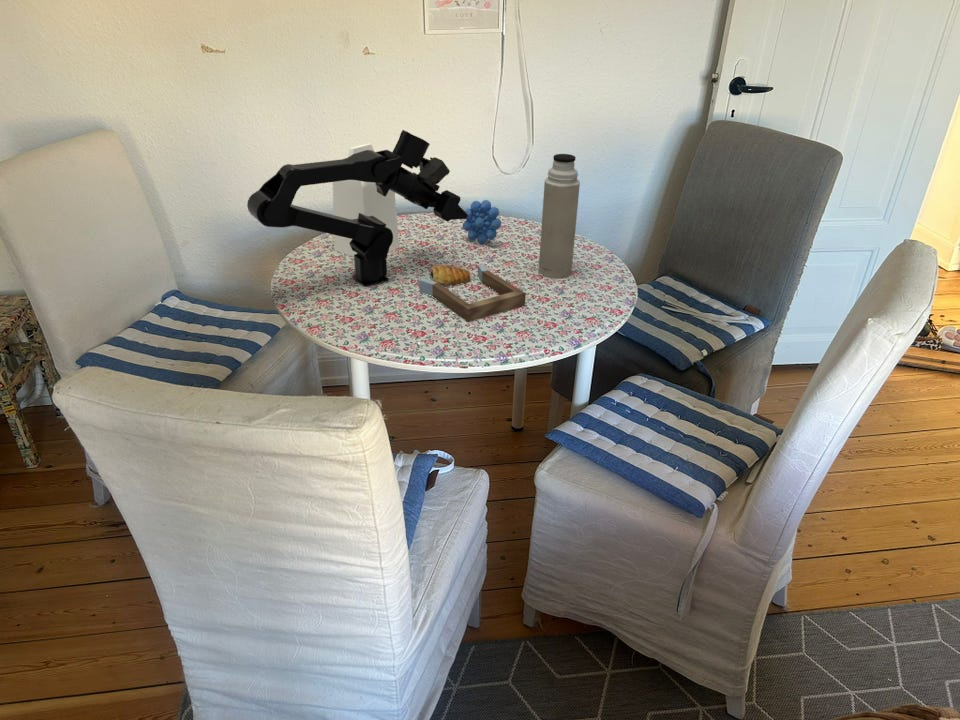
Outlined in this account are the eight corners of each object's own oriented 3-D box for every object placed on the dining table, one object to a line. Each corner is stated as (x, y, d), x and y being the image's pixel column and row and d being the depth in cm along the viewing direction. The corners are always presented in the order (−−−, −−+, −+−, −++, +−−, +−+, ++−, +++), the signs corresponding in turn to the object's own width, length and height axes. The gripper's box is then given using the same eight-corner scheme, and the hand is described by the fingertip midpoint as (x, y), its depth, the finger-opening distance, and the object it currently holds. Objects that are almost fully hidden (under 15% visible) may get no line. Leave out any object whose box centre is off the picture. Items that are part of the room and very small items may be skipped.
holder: (462, 323, 150) (462, 310, 148) (418, 291, 163) (417, 279, 162) (529, 303, 159) (530, 291, 157) (482, 275, 172) (482, 263, 170)
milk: (367, 236, 192) (361, 137, 179) (399, 247, 186) (395, 145, 173) (334, 249, 184) (325, 146, 170) (366, 261, 178) (359, 155, 165)
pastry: (467, 274, 172) (467, 259, 171) (472, 286, 167) (473, 271, 165) (428, 277, 171) (428, 262, 169) (432, 289, 165) (432, 273, 163)
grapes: (508, 243, 190) (510, 199, 184) (494, 251, 185) (496, 206, 179) (472, 234, 195) (472, 190, 189) (457, 241, 190) (458, 197, 184)
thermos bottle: (531, 269, 175) (539, 154, 161) (556, 262, 179) (565, 149, 165) (553, 281, 170) (563, 162, 155) (578, 273, 174) (589, 157, 160)
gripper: (445, 161, 155) (494, 191, 165) (403, 143, 168) (451, 171, 179) (421, 208, 156) (471, 234, 167) (382, 186, 170) (430, 212, 180)
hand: (456, 211), depth 173 cm, fingers open, 9 cm apart
